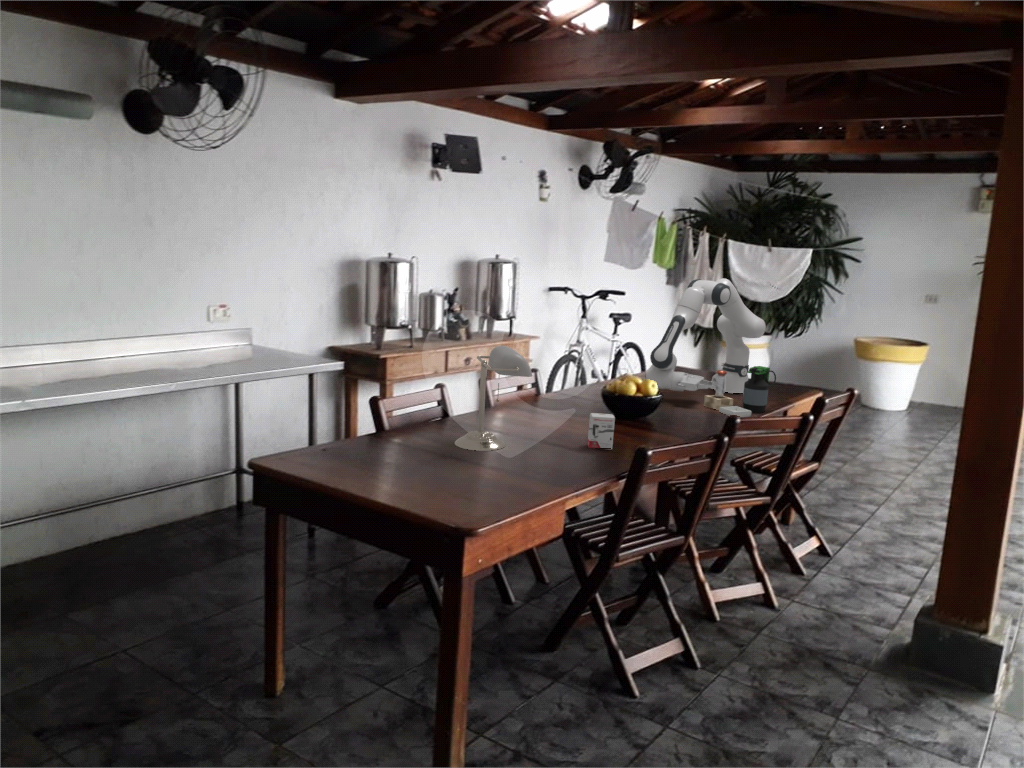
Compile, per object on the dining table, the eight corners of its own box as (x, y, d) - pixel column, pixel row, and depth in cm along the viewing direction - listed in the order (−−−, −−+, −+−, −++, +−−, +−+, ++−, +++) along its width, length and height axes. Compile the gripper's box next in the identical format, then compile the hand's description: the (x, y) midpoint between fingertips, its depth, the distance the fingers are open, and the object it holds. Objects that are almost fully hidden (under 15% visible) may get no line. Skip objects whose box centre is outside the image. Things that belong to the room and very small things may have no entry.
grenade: (772, 410, 364) (778, 367, 360) (759, 414, 354) (764, 370, 350) (751, 406, 371) (755, 363, 367) (737, 410, 361) (742, 366, 357)
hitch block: (703, 406, 365) (704, 395, 364) (719, 405, 369) (720, 394, 368) (716, 410, 357) (717, 399, 356) (732, 409, 361) (733, 398, 360)
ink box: (588, 448, 282) (590, 416, 280) (587, 444, 287) (589, 412, 285) (612, 449, 282) (615, 417, 280) (611, 446, 287) (613, 414, 285)
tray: (718, 412, 353) (719, 407, 353) (735, 411, 357) (736, 406, 357) (733, 417, 345) (734, 412, 344) (750, 416, 349) (751, 410, 348)
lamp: (531, 454, 271) (537, 355, 264) (460, 454, 266) (464, 354, 259) (514, 434, 296) (520, 343, 290) (449, 434, 291) (453, 342, 284)
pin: (710, 407, 364) (714, 370, 361) (718, 406, 366) (722, 370, 363) (717, 409, 360) (721, 372, 357) (725, 408, 362) (729, 371, 359)
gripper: (675, 378, 359) (706, 382, 353) (685, 371, 377) (715, 375, 371) (674, 392, 360) (705, 396, 354) (684, 384, 378) (713, 388, 373)
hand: (710, 385), depth 363 cm, fingers open, 8 cm apart
